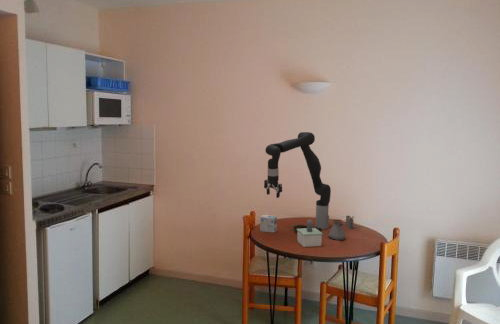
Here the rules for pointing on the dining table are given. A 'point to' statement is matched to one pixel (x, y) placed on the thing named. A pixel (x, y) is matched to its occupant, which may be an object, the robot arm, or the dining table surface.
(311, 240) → the tub
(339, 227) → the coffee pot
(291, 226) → the dining table surface
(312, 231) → the lid
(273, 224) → the light bulb box
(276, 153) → the robot arm
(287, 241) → the dining table surface
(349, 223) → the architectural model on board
